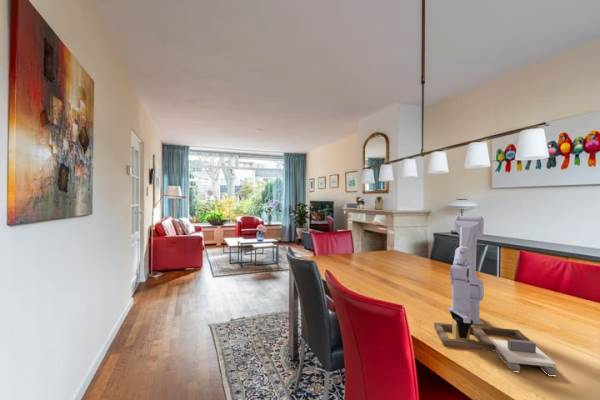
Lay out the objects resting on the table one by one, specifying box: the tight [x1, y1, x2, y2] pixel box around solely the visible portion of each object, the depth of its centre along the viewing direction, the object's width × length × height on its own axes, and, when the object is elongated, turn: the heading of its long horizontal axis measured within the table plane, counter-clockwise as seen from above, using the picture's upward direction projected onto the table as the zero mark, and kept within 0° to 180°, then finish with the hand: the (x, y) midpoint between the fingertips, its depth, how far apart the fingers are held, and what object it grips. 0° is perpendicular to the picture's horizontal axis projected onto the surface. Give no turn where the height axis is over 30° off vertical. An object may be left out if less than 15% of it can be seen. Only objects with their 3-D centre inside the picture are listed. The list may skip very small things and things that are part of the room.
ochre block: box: [451, 318, 471, 341], centre depth 105 cm, size 4×4×6 cm
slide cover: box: [491, 338, 557, 368], centre depth 91 cm, size 12×12×4 cm
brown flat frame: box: [433, 322, 557, 376], centre depth 98 cm, size 26×29×2 cm
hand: (460, 334), depth 105 cm, fingers closed on ochre block, 4 cm apart
